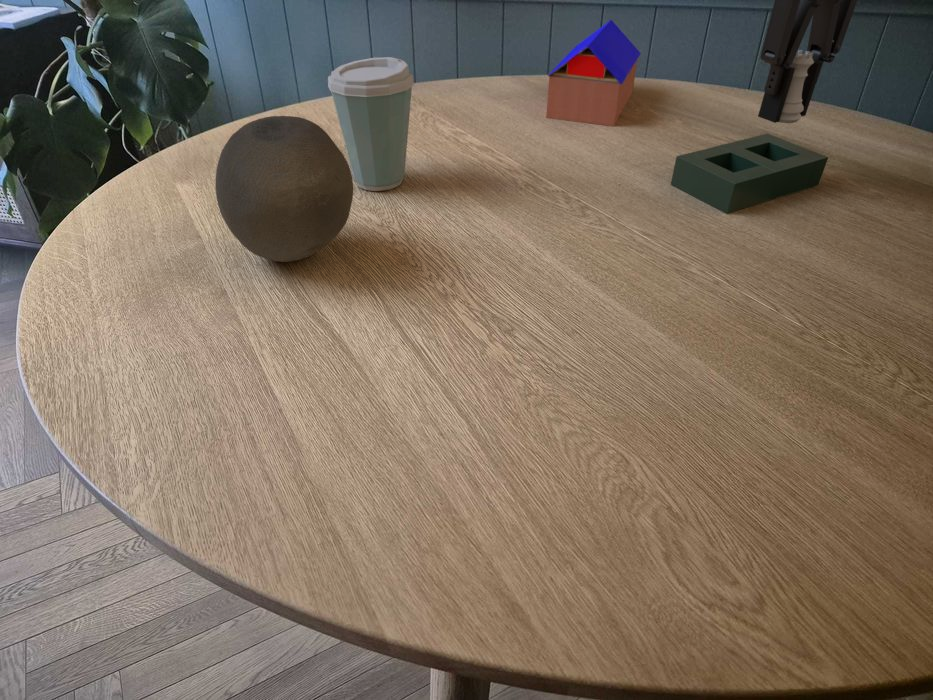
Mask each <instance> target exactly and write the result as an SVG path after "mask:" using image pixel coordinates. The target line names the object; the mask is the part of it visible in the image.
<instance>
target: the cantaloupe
mask: <svg viewBox="0 0 933 700" xmlns="http://www.w3.org/2000/svg"><path fill="white" fill-rule="evenodd" d="M349 165H350V164H349V163H348V161H347V159H346V157H345V155H344V154H343V152H342V151H341V150H340V148H339V147H338V146H337V144H336V142H335V141H333V139H332V138H331V136H330V134H328V133H327V132H326V131H325V130H324V129H323V128H322V127H321V126H320V125H319V124H317V123H315V122H314V121H311V120H309V119H306V118H304V117H300V116H291V115H272V116H271V115H270V116H266V117H261V118H258V119H255V120H252V121H250V122H248V123H246V124H244V125H242V126H241V127H240V128H238V129H237V130H236V131H235V132H233V133H232V134H231V136H229V138H228V140H227V141H226V143H225V144H224V146H223V148H222V149H221V152H220V155H219V157H218V162H217V165H216V171H215V195H216V201H217V206H218V209H219V212H220V215H221V217H222V219H223V221H224V223H225V224H226V226H227V228H228V229H229V232H231V234H232V235H233V236H234V237H235V239H236V240H238V242H239V243H240V244H241V245H242V246H243V247H244V248H245V249H247V251H249V252H250V253H252V254H254V255H255V256H258V257H260V258H263V259H265V260H269V261H273V262H279V263H280V262H281V263H291V262H295V261H301V260H304V259H306V258H308V257H312V256H313V255H314V254H316V253H317V252H319V251H320V250H322V249H324V248H325V247H326V246H327V245H329V244H330V243H331V242H332V241H333V240H334V239H335V238H336V237H337V236H338V235H339V234H340V233H341V231H342V230H343V229H344V227H345V226H346V224H347V222H348V219H349V216H350V213H351V207H352V203H353V197H354V182H353V181H354V179H353V174H352V170H351V167H350V166H349Z"/></svg>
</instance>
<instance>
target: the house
mask: <svg viewBox="0 0 933 700" xmlns="http://www.w3.org/2000/svg"><path fill="white" fill-rule="evenodd" d="M640 57H641V51H640V50H638V48H637V47H636V46H635V45H634V44H633V42H632V41H631V40H630V39H629V38H628V37H627V36H626V34H625V33H624V32H623V31H622V30H621V29H620V28H619V26H618V25H617V24H616V23H615V22H614V21H613V20H612V19H610V20H609V21H608V22H606V23H605V24H603V25H602V26H600V27H599V28H598V29H597V30H596V31H594V32H592V33H591V34H590V35H589V36H588V37H586V38H585V39H583V40H582V41H581V42H580V43H578V44H577V45H576V46H574V47H573V48H572V49H571V51H569V53H568V54H567V55H565V57H564V58H563V59H562V60H561V61H560V62H559V63H558V64H557V65H556V66H555V68H554V69H552V70H551V72H550V73H549V74H548V75H547V77H548V78H549V79H548V89H547V100H546V101H547V102H546V113H545V119H552V120H553V119H555V120H562V121H568V122H576V123H586V124H593V125H601V126H609V127H615V125H616V124H617V121H618V119H619V117H620V115H621V114H622V112H623V110H624V109H625V107H626V105H627V103H628V102H629V99H630V98H631V96H632V94H633V93H634V92H633V91H634V85H635V79H636V72H637V67H638V60H639V58H640Z"/></svg>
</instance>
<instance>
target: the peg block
mask: <svg viewBox="0 0 933 700" xmlns="http://www.w3.org/2000/svg"><path fill="white" fill-rule="evenodd" d="M828 160H829V156H826V155H824V154H821V153H819V152H816V151H814V150H811V149H809V148H806V147H803V146H801V145H798V144H796V143H793V142H790V141H788V140H785V139H783V138H781V137H778V136H775V135H773V134H770V133H767V132H766V133H763V134H760V135H756V136H751V137H748V138H744V139H743V138H742V139H739V140H736V141H732V142H728V143H723V144H719V145H717V146H713V147H708V148H704V149H699V150H697V151H692V152H688V153H684V154H680V155H676V157H675V161H674V165H673V171H672V176H671V180H670V185H671V186H673V187H675V188H676V189H678V190H680V191H682V192H684V193H686V194H688V195H690V196H692V197H694V198H696V199H697V200H699V201H702V202H703V203H706V204H707V205H710V206H712V207H713V208H715V209H717V210H719V211H721V212H723V213H725V214H730V213H733V212H737V211H739V210H740V211H741V210H743V209H746V208H750V207H753V206H756V205H759V204H763V203H766V202H769V201H772V200H775V199H778V198H783V197H786V196H788V195H792V194H795V193H798V192H801V191H804V190H808V189H811V188H815V187H818V186H819V185H820V183H821V180H822V177H823V173H824V172H825V171H824V170H825V168H826V165H827V162H828Z"/></svg>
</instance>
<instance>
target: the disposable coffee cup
mask: <svg viewBox="0 0 933 700" xmlns="http://www.w3.org/2000/svg"><path fill="white" fill-rule="evenodd" d="M327 83H328V84H327V87H328V89H329V91H330V92H331V96H332V100H333V104H334V107H335V111H336V114H337V119H338V123H339V127H340V130H341V134H342V139H343V142H344V145H345V150H346V154H347V157H348V161H349V165H350V170H351V174H352V177H353V180H354V182H355V183H356V184H357V187H358V188H360V189H363V190H365V191H373V192H382V191H390V190H393V189H395V188H397V187H399V186H400V185H401V184H402V183H403V179H404V178H405V175H406V161H407V150H408V149H407V148H408V137H409V125H410V112H411V102H412V92H413V91H412V90H413V89H412V88H413V86H414V85H415V83H414V76H413V75H412V73H410V69H409V65H408V63H407V62H406V61H405V60H402V59H401V58H396V57H391V56H389V57H388V56H386V57H383V56H382V57H370V58H364V59H360V60H358V59H357V60H354V61H350V62H348V63H345V64H344V63H343V64H342V65H339V66H338V67H336V68H335V69H334V70H332V71H331V72H330V75H328V77H327Z"/></svg>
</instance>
